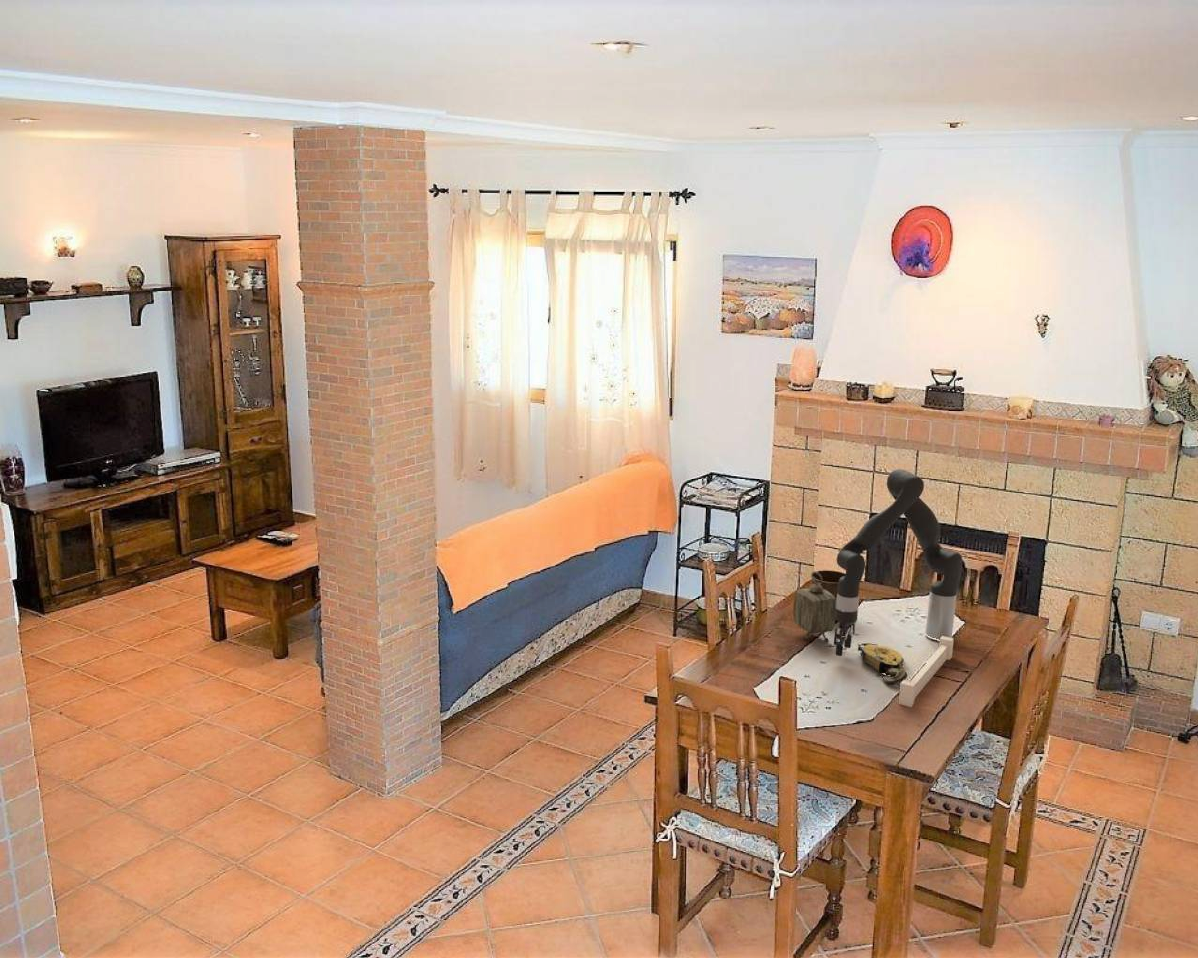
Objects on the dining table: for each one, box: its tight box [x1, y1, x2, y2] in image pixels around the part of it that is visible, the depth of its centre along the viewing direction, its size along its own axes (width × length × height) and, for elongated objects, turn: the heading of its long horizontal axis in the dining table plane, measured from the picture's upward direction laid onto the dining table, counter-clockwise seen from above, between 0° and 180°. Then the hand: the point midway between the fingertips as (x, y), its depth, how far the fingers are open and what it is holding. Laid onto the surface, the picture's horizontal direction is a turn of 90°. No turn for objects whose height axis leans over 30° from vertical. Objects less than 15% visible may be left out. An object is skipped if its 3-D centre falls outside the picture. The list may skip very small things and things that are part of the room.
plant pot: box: [811, 570, 846, 601], centre depth 416 cm, size 15×15×16 cm
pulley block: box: [857, 642, 908, 686], centre depth 369 cm, size 14×6×30 cm
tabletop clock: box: [792, 570, 836, 643], centre depth 392 cm, size 14×9×25 cm, turn 22°
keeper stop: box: [898, 636, 955, 708], centre depth 362 cm, size 48×4×7 cm, turn 148°
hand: (843, 651), depth 377 cm, fingers open, 8 cm apart
